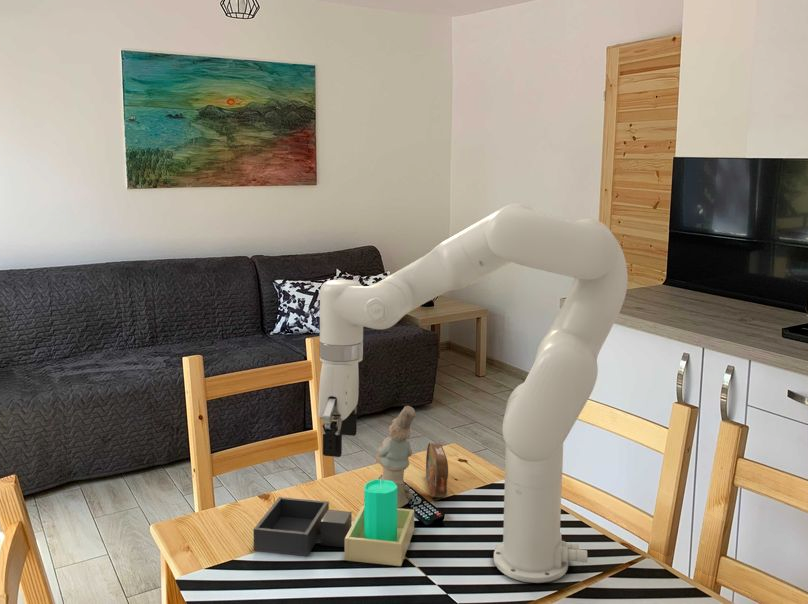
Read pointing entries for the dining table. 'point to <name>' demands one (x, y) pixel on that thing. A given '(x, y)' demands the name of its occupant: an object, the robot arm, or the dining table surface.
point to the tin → (436, 470)
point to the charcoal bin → (290, 526)
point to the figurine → (397, 454)
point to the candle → (380, 510)
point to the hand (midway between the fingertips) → (340, 444)
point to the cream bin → (379, 541)
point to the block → (335, 527)
